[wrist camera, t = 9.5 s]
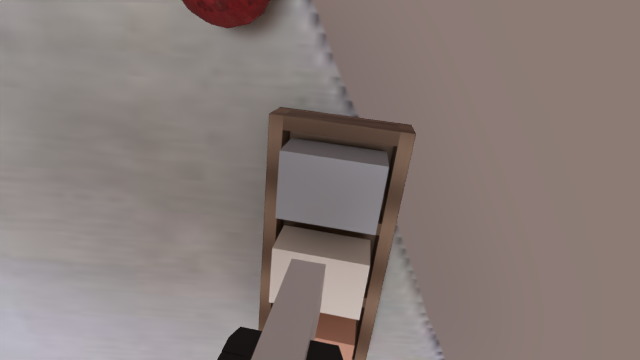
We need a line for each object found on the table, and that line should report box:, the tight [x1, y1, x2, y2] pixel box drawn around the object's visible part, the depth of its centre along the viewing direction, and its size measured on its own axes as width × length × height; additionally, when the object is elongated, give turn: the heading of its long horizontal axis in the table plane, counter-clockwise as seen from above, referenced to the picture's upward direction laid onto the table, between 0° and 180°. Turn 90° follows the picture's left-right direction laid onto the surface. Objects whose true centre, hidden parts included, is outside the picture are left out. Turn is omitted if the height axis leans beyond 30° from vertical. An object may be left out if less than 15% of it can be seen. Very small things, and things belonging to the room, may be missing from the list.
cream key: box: [269, 225, 370, 320], centre depth 25 cm, size 5×7×3 cm
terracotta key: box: [314, 312, 356, 360], centre depth 27 cm, size 5×7×3 cm
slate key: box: [275, 138, 389, 235], centre depth 23 cm, size 5×7×3 cm
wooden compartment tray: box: [259, 107, 416, 360], centre depth 28 cm, size 22×10×3 cm, turn 174°
